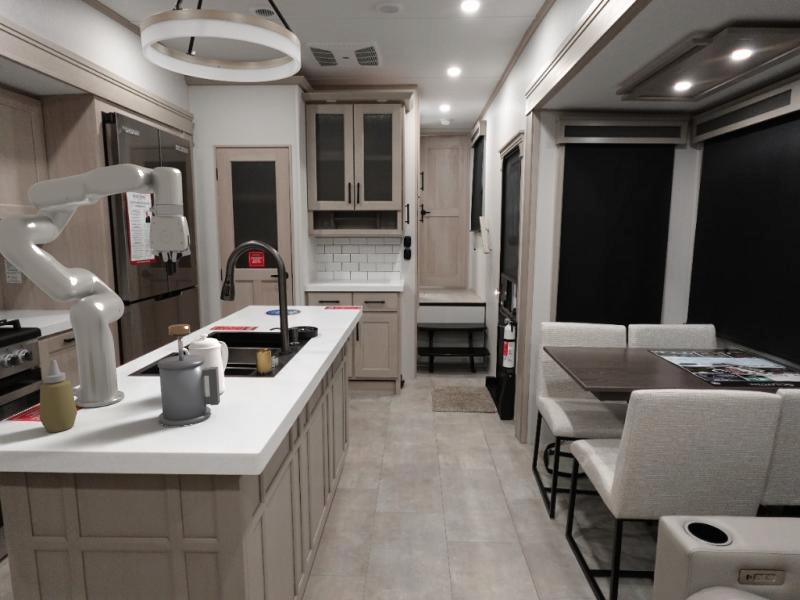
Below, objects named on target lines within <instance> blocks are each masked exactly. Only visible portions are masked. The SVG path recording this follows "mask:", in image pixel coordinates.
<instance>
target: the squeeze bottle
mask: <svg viewBox="0 0 800 600" xmlns="http://www.w3.org/2000/svg"><path fill="white" fill-rule="evenodd" d="M43 382H44V383H42V384H41V385H40V386H39V387H40V389H39V392H40V393H39V421H40V422H41V424H42V426H43V427H44V430H45V431H46V432H48V433H57V432H64V431H67V430H69V429H72V427H74V425H75V421H76V419H77V414H78V410H77V405H76V404H75V400H76V399H75V396H73V391H72V382H71V381H70V380H68V379H67V377H66V372H64V371H60V368H59V365H58V362H57V360H56V359H51V360H50V361H49V368H48V373H46V374H44V375H43Z"/></svg>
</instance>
